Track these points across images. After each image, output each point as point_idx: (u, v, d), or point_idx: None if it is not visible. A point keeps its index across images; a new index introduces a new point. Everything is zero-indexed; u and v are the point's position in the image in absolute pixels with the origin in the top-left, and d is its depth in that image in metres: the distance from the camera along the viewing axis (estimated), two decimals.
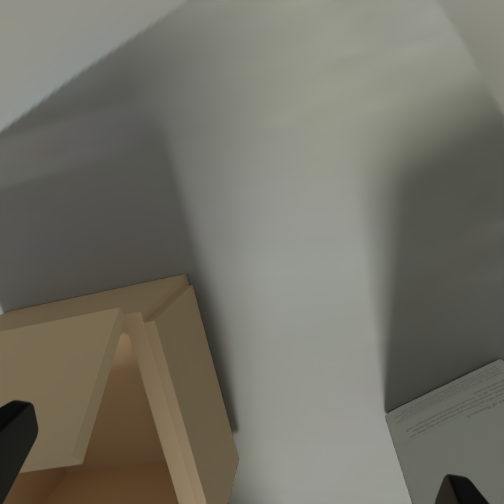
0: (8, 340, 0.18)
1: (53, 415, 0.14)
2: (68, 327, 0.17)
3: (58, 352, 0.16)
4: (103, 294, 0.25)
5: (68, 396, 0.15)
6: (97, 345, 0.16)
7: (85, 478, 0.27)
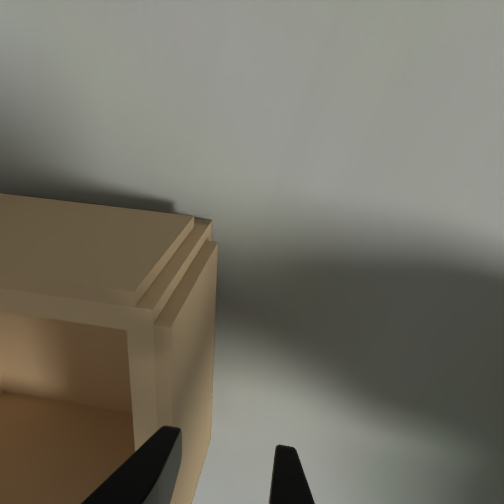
0: None
1: None
2: None
3: None
4: None
5: None
6: None
7: None
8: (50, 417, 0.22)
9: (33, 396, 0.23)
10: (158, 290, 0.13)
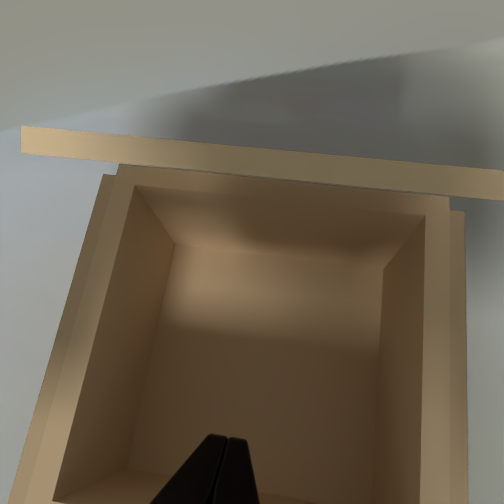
0: None
1: None
2: None
3: None
4: None
5: None
6: None
7: (161, 478, 0.18)
8: (154, 304, 0.20)
9: (168, 276, 0.21)
10: None
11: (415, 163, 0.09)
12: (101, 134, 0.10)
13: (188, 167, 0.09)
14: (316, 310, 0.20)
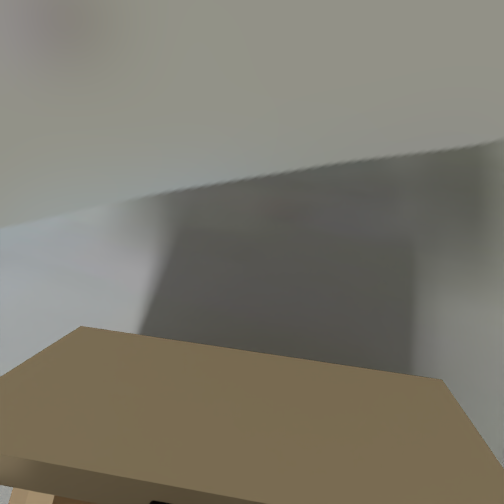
0: (272, 363, 0.12)
1: (450, 479, 0.08)
2: (370, 377, 0.12)
3: (378, 399, 0.11)
4: None
5: (456, 459, 0.09)
6: (447, 410, 0.11)
7: None
8: None
9: None
10: None
11: None
12: (6, 456, 0.07)
13: None
14: None
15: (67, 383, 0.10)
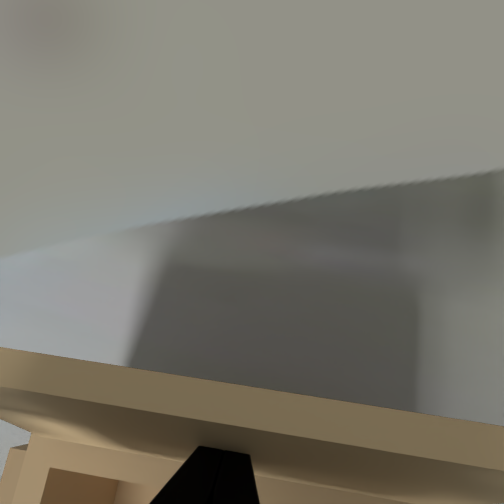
0: None
1: None
2: None
3: None
4: None
5: None
6: None
7: None
8: None
9: (117, 485, 0.18)
10: None
11: (431, 417, 0.06)
12: (5, 349, 0.07)
13: (112, 402, 0.07)
14: None
15: None
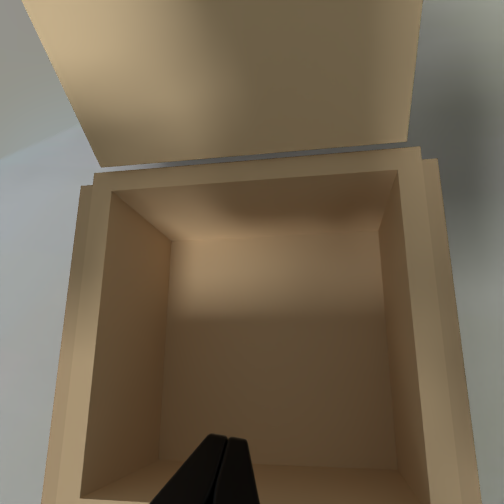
0: None
1: None
2: None
3: None
4: None
5: None
6: None
7: None
8: (158, 302, 0.20)
9: (169, 273, 0.22)
10: None
11: None
12: None
13: None
14: (317, 282, 0.20)
15: None
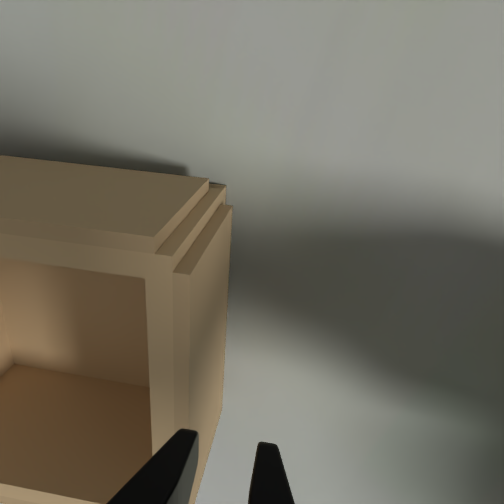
0: None
1: None
2: None
3: None
4: None
5: None
6: None
7: None
8: (60, 389, 0.22)
9: (43, 369, 0.23)
10: (177, 240, 0.12)
11: None
12: None
13: None
14: None
15: None
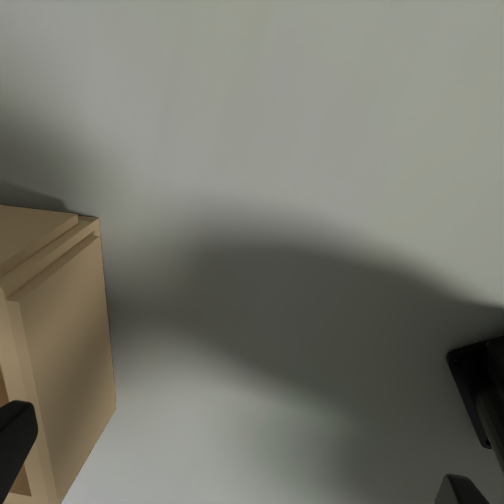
0: None
1: None
2: None
3: None
4: None
5: None
6: None
7: None
8: None
9: None
10: (16, 273, 0.16)
11: None
12: None
13: None
14: None
15: None
